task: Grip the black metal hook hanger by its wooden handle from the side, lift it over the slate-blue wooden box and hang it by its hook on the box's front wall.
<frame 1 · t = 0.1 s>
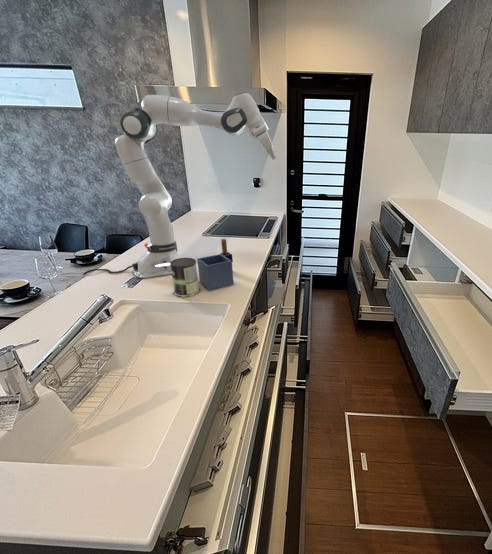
hand: (273, 158, 145), 54 cm above the counter, tool tilted 30°, fingers open, 8 cm apart
coffee can: (187, 292, 133), on the counter
bin: (216, 283, 142), on the counter
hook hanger: (226, 271, 156), on the counter
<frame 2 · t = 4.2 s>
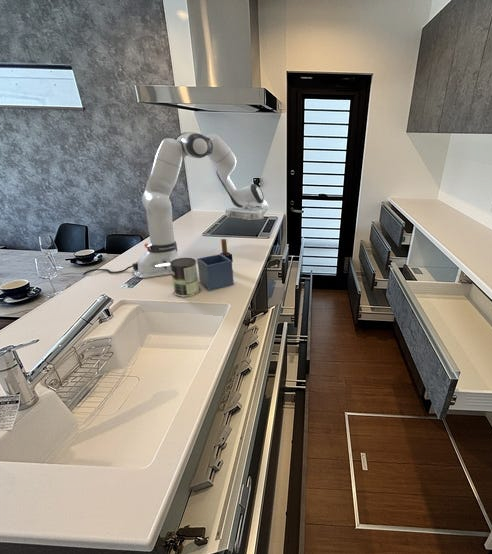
hand: (236, 216, 156), 26 cm above the counter, tool horizontal, fingers open, 8 cm apart
nothing on the counter moved.
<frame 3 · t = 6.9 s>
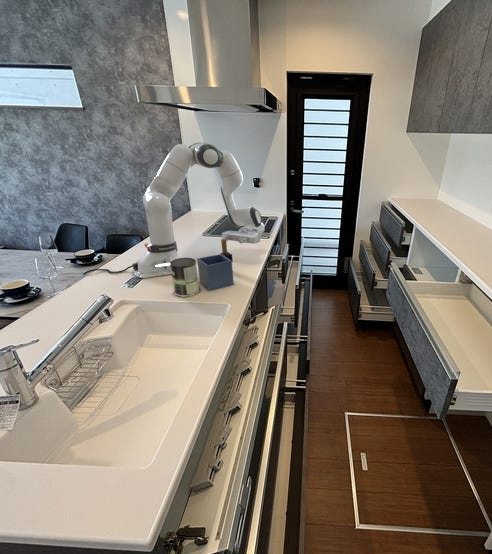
hand: (232, 240, 156), 14 cm above the counter, tool horizontal, fingers open, 8 cm apart
nothing on the counter moved.
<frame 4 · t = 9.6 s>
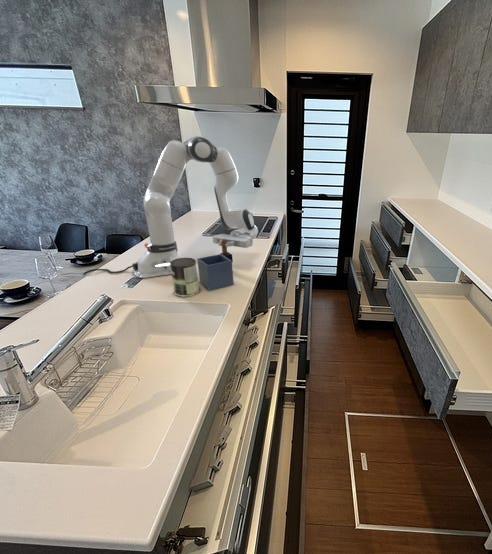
hand: (223, 244, 149), 15 cm above the counter, tool horizontal, fingers closed on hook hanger, 2 cm apart
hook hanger: (226, 271, 156), on the counter, touching gripper
everything else where it was.
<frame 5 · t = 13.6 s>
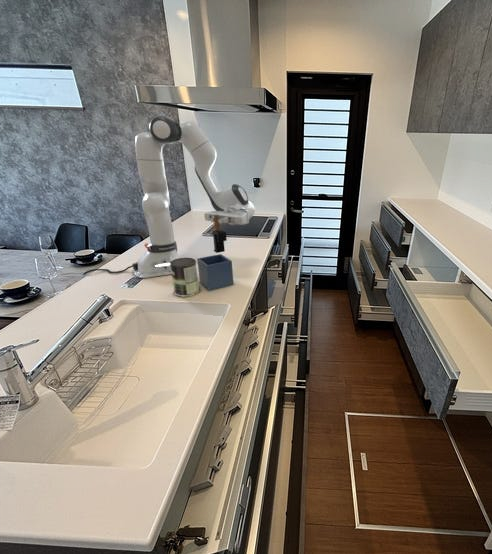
hand: (215, 220, 133), 29 cm above the counter, tool horizontal, fingers closed on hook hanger, 2 cm apart
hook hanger: (219, 251, 140), point 14 cm above the counter, touching gripper
everything else where it was.
when the fingers open (17 cm above the counter, at t = 17.8 s): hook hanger stays where it is, resting on bin.
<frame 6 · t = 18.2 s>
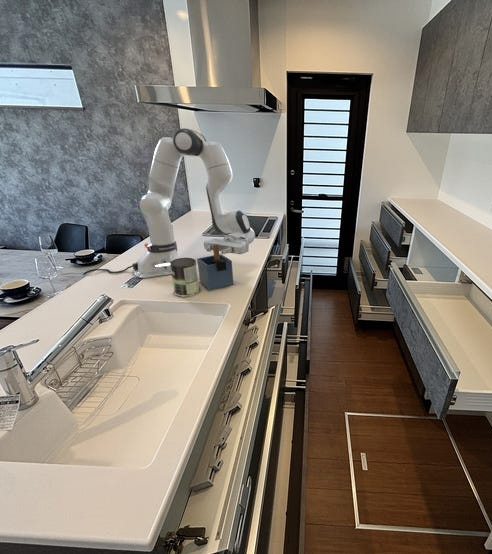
hand: (215, 251, 132), 17 cm above the counter, tool horizontal, fingers open, 6 cm apart
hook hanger: (219, 280, 138), point 3 cm above the counter, touching bin
everything else where it was.
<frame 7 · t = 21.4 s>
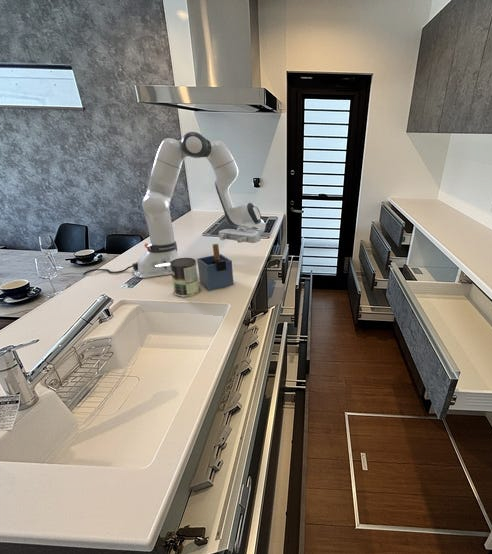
hand: (230, 239, 142), 19 cm above the counter, tool horizontal, fingers open, 8 cm apart
nothing on the counter moved.
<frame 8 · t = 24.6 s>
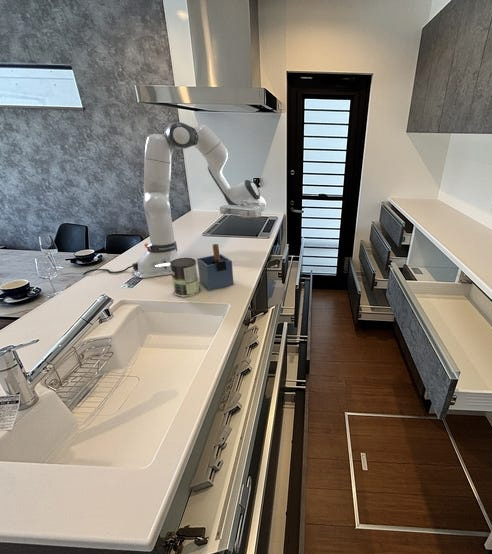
hand: (231, 213, 143), 30 cm above the counter, tool horizontal, fingers open, 8 cm apart
nothing on the counter moved.
at the end: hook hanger 0.8 cm from the target spot in the bin, point 2.7 cm above the bin's base; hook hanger touching bin; the gripper is holding nothing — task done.
